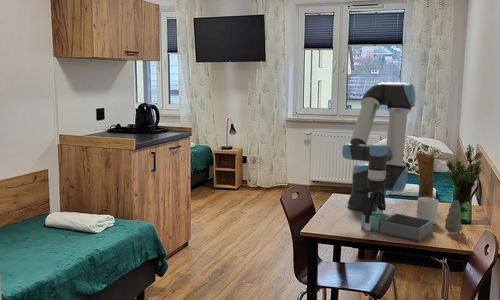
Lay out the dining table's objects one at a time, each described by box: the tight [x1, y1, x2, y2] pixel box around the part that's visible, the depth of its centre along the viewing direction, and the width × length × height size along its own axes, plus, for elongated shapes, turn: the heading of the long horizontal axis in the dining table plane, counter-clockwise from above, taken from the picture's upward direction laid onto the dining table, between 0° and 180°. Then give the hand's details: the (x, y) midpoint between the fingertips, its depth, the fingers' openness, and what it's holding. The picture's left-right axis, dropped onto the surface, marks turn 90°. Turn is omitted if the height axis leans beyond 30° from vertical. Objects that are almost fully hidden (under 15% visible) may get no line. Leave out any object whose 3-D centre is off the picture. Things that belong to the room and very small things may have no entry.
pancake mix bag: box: [415, 151, 435, 199], centre depth 252 cm, size 7×19×28 cm, turn 0°
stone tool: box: [444, 199, 463, 234], centre depth 206 cm, size 8×3×15 cm, turn 98°
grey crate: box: [379, 213, 434, 243], centre depth 204 cm, size 17×17×6 cm
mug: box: [416, 197, 439, 225], centre depth 222 cm, size 12×9×11 cm
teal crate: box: [360, 211, 388, 232], centre depth 211 cm, size 8×8×6 cm
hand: (373, 227), depth 211 cm, fingers open, 12 cm apart
